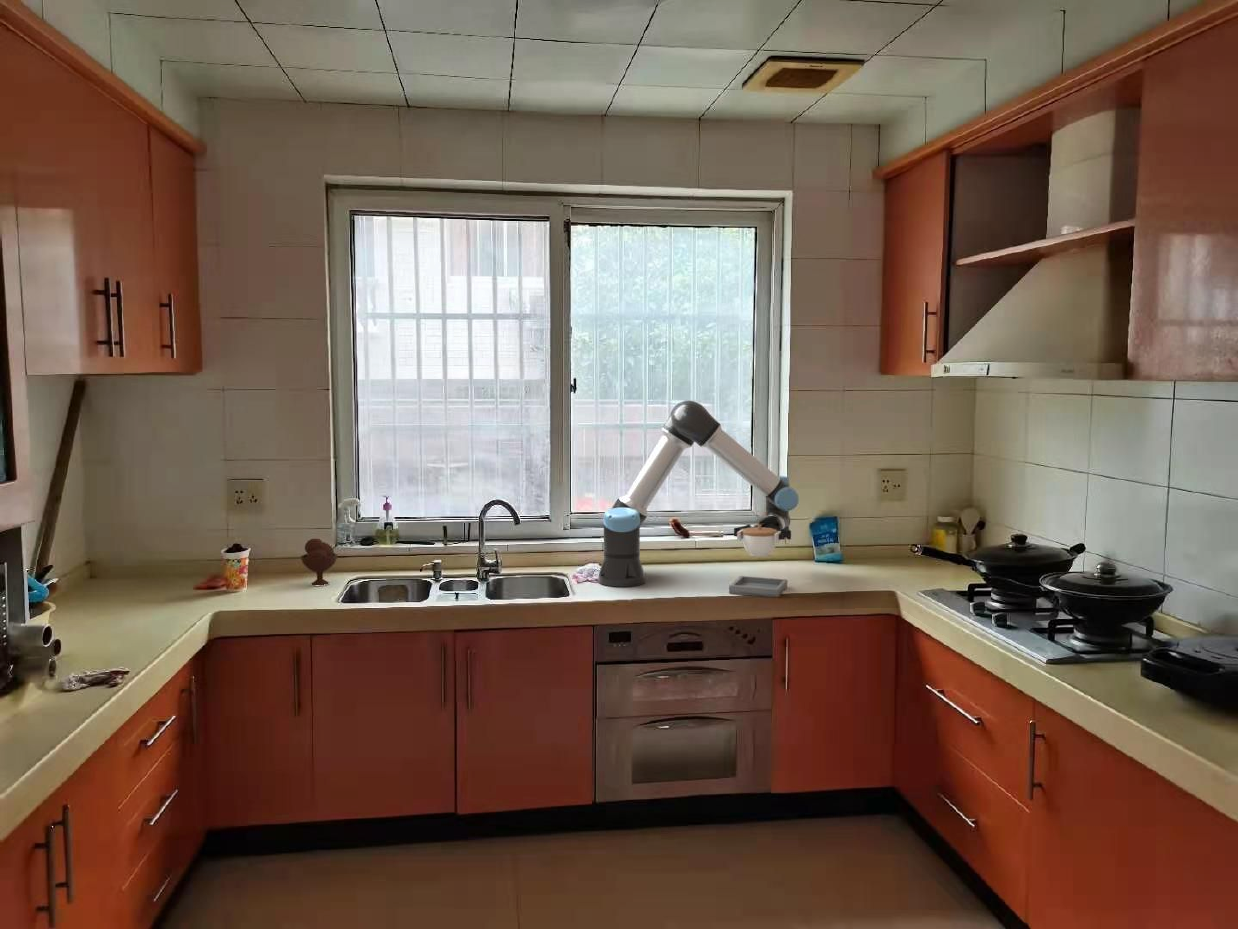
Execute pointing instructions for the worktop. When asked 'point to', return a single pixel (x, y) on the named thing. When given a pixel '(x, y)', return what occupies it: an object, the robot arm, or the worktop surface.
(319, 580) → the ice cream bowl
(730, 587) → the tray
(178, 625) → the worktop surface
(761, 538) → the lidded jar
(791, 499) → the robot arm
